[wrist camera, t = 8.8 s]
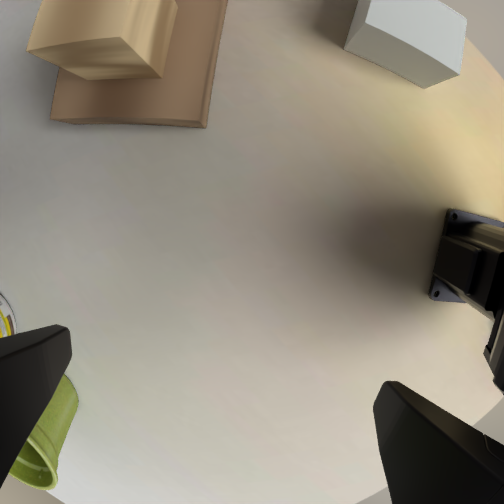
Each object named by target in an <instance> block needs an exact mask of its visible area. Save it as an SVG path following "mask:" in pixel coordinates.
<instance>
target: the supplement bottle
mask: <svg viewBox="0 0 504 504" xmlns="http://www.w3.org/2000/svg"><path fill="white" fill-rule="evenodd" d="M16 332H17V329H16V321H15V318H14V315H13V312H12V310H11V308H10V306H9V305H8V303H7V302H6V300H5V299H4V298H3V297H2V296H1V295H0V338H2V337H6V336H10V335H14V334H16Z"/></svg>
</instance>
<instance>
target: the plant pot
mask: <svg viewBox="0 0 504 504" xmlns="http://www.w3.org/2000/svg"><path fill="white" fill-rule="evenodd" d="M77 407H78V396H77V393H76V391H75V389H74V387H73V385H72V384H71V382H70V381H69V379H68V378H67V377H66V376H65V375H64V374H63V376H62V378H61V380H60V383H59V385H58V387H57V389H56V391H55V393H54V395H53V397H52V399H51V400H50V402H49V404H48V405H47V407H46V409H45V410H44V412H43V414H42V415H41V417H40V419H39V420H38V422H37V424H36V425H35V427H34V429H33V430H32V432H31V434H30V435H29V437H28V439H27V441H26V442H25V444H24V446H23V448H22V449H21V451H20V453H19V455H18V456H17V458H16V460H15V462H14V464H13V466H12V467H11V469H10V471H9V473H8V474H9V475H11V476H12V477H14V478H15V479H17V480H19V481H21V482H23V483H24V484H27V485H29V486H31V487H33V488H37V489H41V490H51V489H53V488H55V486H56V484H57V482H58V476H57V472H56V470H57V467H58V456H59V454H60V451H61V448H62V445H63V443H64V440H65V438H66V435H67V433H68V430H69V427H70V425H71V422H72V420H73V418H74V415H75V413H76V411H77Z"/></svg>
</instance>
